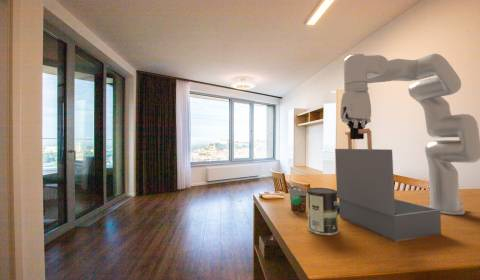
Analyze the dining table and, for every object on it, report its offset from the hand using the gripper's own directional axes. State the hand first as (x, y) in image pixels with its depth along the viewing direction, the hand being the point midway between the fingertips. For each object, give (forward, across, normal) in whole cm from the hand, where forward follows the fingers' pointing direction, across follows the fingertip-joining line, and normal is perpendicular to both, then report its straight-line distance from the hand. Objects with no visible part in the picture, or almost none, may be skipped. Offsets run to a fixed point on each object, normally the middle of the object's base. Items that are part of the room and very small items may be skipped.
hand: (357, 138), depth 78 cm
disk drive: (+33, -6, -22) cm, 40 cm away
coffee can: (+33, +13, -3) cm, 36 cm away
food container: (+33, +10, -27) cm, 44 cm away
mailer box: (+32, -12, 0) cm, 35 cm away
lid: (+11, -1, 0) cm, 11 cm away
